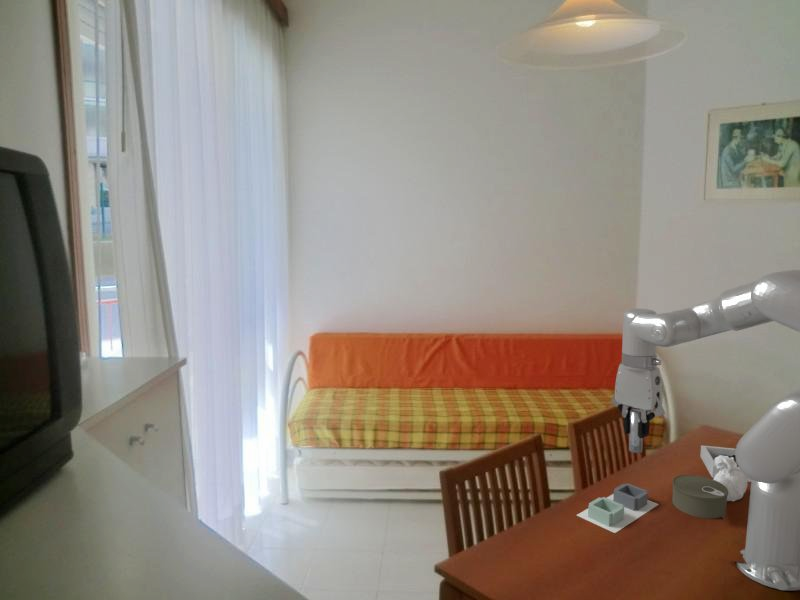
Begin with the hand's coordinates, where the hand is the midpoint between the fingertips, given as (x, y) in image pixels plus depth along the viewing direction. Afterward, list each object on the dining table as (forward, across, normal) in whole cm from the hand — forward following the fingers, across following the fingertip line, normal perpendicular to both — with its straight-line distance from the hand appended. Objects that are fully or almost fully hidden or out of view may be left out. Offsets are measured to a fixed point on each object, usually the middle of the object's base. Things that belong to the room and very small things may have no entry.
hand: (636, 433), depth 137 cm
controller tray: (+20, -7, -43) cm, 47 cm away
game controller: (+20, -5, -42) cm, 47 cm away
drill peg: (+4, 0, 0) cm, 4 cm away
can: (+20, -11, -11) cm, 25 cm away
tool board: (+19, +1, +6) cm, 20 cm away
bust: (+20, -12, -25) cm, 34 cm away
